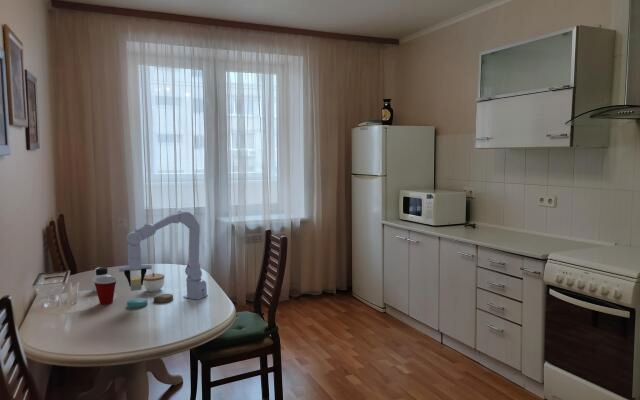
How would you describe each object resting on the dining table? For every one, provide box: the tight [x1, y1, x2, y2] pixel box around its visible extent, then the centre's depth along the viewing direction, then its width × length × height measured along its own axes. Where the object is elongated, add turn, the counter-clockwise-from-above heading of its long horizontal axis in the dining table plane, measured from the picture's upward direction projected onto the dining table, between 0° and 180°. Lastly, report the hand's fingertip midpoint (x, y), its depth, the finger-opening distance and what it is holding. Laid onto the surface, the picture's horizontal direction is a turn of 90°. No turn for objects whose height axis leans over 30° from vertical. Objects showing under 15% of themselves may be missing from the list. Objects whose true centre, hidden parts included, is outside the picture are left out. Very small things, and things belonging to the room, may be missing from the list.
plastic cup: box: [93, 276, 118, 306], centre depth 229 cm, size 11×11×12 cm
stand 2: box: [153, 293, 174, 304], centre depth 233 cm, size 9×9×2 cm
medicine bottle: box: [91, 266, 112, 292], centre depth 252 cm, size 7×7×12 cm
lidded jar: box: [143, 272, 165, 293], centre depth 249 cm, size 11×11×9 cm
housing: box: [130, 275, 143, 292], centre depth 224 cm, size 7×4×5 cm, turn 20°
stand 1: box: [126, 297, 148, 310], centre depth 225 cm, size 9×9×2 cm
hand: (136, 285), depth 224 cm, fingers closed on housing, 4 cm apart
